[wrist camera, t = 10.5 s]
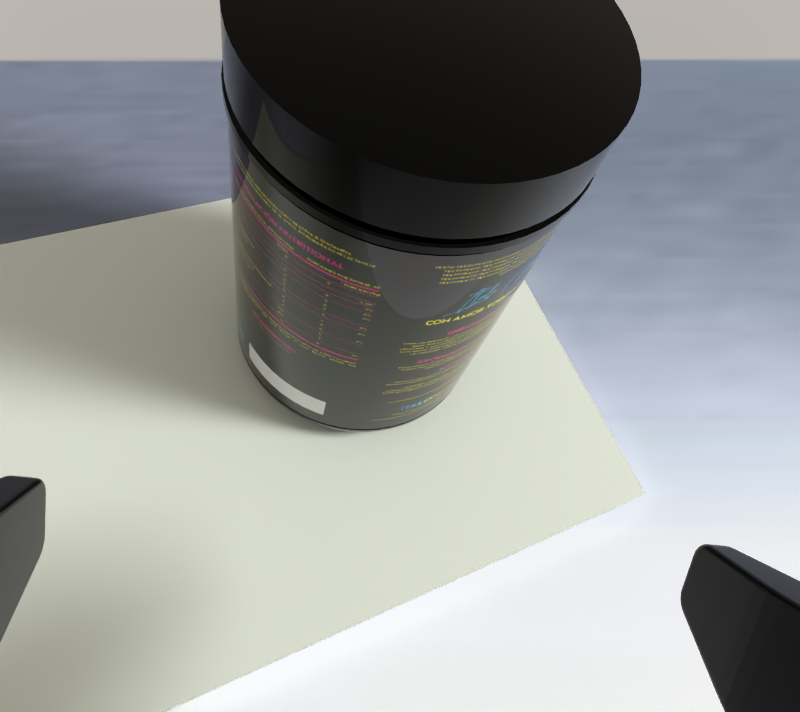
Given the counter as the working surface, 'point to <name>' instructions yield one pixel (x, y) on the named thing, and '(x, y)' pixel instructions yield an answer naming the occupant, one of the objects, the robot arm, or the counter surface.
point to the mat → (245, 473)
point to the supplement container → (404, 182)
